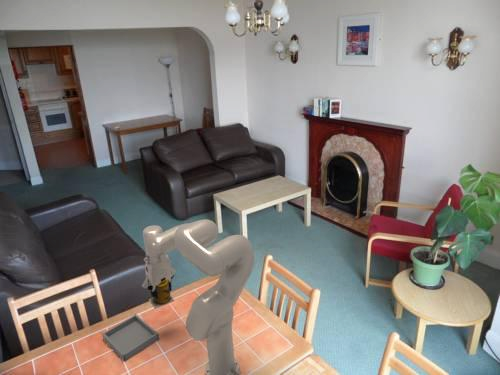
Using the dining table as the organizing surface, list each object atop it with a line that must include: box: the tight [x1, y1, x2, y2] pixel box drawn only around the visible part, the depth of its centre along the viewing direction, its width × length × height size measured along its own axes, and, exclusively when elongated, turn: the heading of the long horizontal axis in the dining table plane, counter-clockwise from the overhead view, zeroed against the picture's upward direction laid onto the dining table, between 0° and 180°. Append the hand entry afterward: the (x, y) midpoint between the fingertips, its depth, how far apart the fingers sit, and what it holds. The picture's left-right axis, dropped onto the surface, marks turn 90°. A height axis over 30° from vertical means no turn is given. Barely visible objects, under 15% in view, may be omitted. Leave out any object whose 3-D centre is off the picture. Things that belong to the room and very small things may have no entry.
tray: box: [101, 314, 160, 362], centre depth 157 cm, size 18×16×3 cm
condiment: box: [148, 278, 175, 310], centre depth 152 cm, size 7×8×12 cm
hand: (161, 293), depth 154 cm, fingers closed on condiment, 6 cm apart
